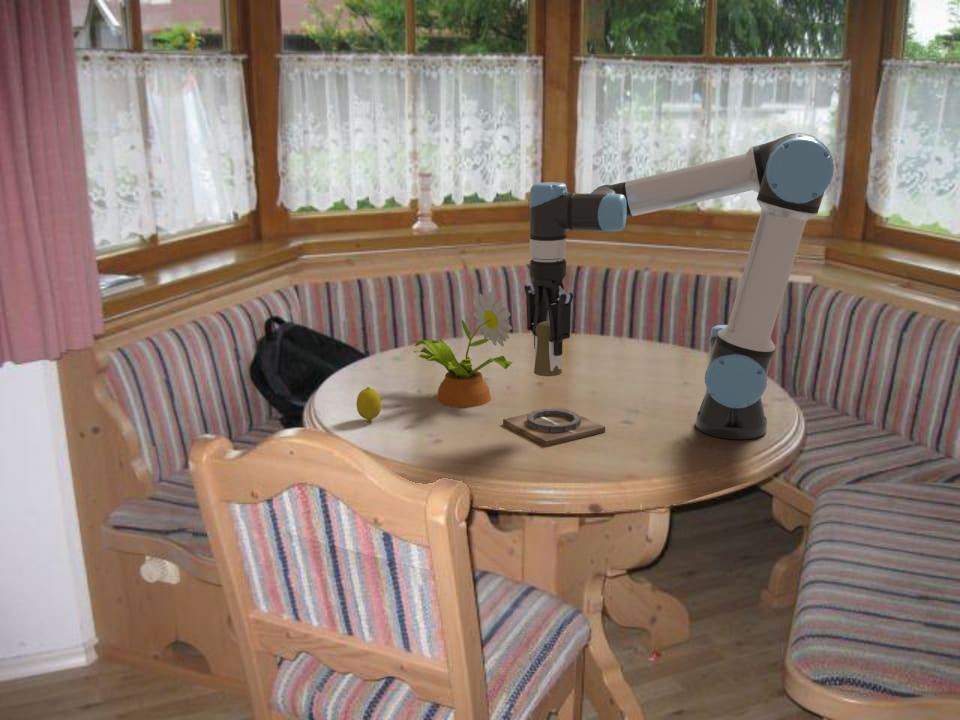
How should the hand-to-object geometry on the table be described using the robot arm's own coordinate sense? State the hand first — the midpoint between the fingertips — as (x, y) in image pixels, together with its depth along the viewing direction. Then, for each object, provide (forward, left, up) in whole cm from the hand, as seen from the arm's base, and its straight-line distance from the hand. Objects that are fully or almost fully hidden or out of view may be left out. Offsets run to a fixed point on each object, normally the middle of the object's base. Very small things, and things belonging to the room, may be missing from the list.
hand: (548, 366), depth 209 cm
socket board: (+1, -3, -15) cm, 15 cm away
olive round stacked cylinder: (0, 0, -1) cm, 1 cm away
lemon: (+27, +29, -15) cm, 43 cm away
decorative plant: (+30, +4, -15) cm, 34 cm away
